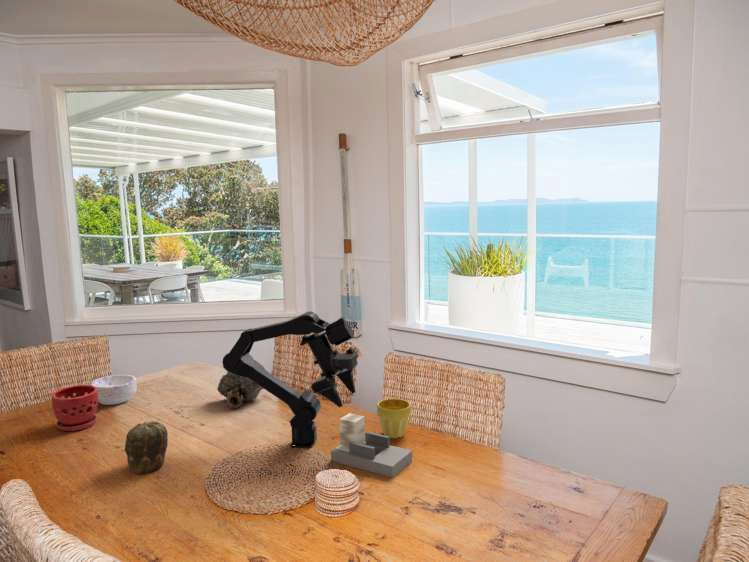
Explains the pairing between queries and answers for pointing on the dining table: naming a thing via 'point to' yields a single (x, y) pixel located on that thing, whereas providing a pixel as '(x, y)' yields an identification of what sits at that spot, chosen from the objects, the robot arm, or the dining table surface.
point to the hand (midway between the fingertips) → (347, 399)
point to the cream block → (352, 430)
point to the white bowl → (115, 388)
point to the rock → (238, 388)
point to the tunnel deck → (373, 455)
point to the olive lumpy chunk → (146, 447)
